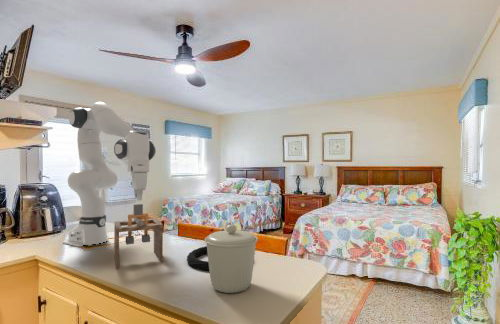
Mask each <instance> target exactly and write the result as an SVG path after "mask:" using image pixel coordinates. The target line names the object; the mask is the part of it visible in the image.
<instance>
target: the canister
mask: <svg viewBox="0 0 500 324" xmlns="http://www.w3.org/2000/svg"><path fill="white" fill-rule="evenodd" d="M258 240H259V238H258V236H257V235H254V233H252V232H250V231H247V230H246V231H245V230H238V228H237V226H236V225H235V224H228V225H226V228H225V230H219V231H214V232H211V233H210V234H209V235H207V236H206V237H205V238H204V243H206V246H207V253H208V254H207V260H208V263H209V271H208V272H209V277H210V282H211V285H212V287H213V288H214V289H215V290H216V291H218V292H221V293H225V294H234V293H235V294H237V293H241V292H244V291H245V290H246V289H247V290H248V288H249V287H250V285H251V282H252V279H253V271H254V264H255V255H256V244H257V242H258Z"/></svg>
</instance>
